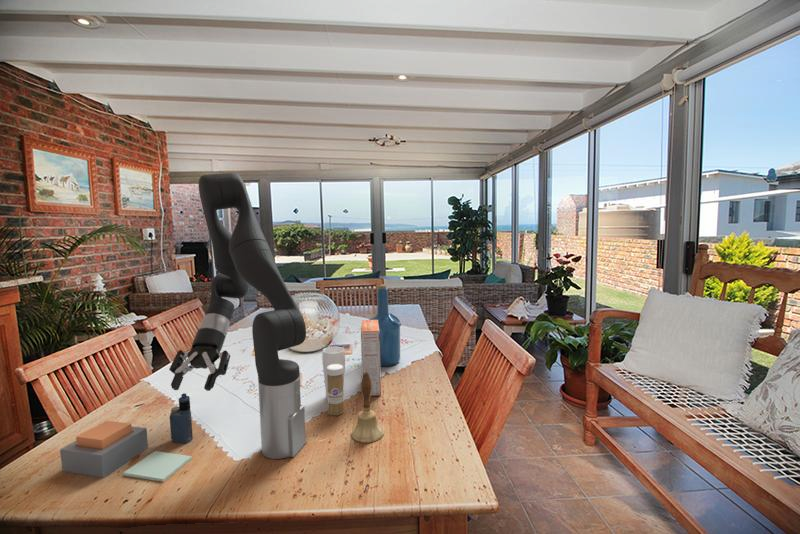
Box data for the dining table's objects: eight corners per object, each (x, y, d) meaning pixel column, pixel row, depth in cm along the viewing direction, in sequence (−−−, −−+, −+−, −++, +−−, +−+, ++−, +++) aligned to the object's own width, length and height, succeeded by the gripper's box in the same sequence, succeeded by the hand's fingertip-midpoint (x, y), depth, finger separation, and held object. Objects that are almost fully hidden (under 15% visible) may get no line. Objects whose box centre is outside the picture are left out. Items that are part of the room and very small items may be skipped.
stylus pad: (192, 458, 87) (192, 456, 86) (163, 481, 79) (163, 479, 79) (155, 453, 89) (155, 451, 89) (123, 475, 81) (123, 472, 81)
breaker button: (132, 435, 89) (131, 423, 89) (103, 453, 82) (101, 440, 82) (107, 432, 90) (106, 420, 90) (77, 449, 84) (76, 436, 83)
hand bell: (344, 434, 96) (342, 373, 94) (368, 422, 102) (367, 364, 100) (366, 447, 91) (365, 382, 89) (390, 433, 97) (389, 372, 95)
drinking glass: (335, 404, 113) (334, 354, 111) (318, 398, 116) (317, 351, 115) (350, 395, 118) (349, 348, 117) (333, 390, 122) (332, 345, 120)
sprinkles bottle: (329, 417, 105) (328, 370, 103) (326, 410, 109) (325, 364, 107) (346, 414, 106) (345, 367, 105) (342, 407, 111) (340, 362, 109)
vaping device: (187, 444, 92) (184, 397, 91) (169, 442, 93) (165, 395, 92) (195, 438, 95) (192, 392, 93) (177, 436, 96) (173, 390, 95)
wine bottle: (362, 366, 142) (360, 287, 139) (370, 354, 155) (369, 282, 152) (398, 368, 140) (397, 288, 137) (404, 356, 153) (403, 282, 150)
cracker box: (362, 379, 131) (361, 319, 129) (379, 378, 131) (378, 319, 129) (361, 397, 117) (360, 330, 115) (381, 396, 117) (380, 330, 115)
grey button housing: (148, 448, 91) (146, 428, 90) (103, 477, 80) (101, 455, 80) (110, 442, 93) (108, 423, 93) (62, 471, 82) (59, 449, 82)
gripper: (181, 326, 105) (156, 383, 95) (231, 326, 105) (211, 384, 94) (193, 339, 111) (171, 394, 101) (241, 339, 110) (223, 395, 100)
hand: (190, 389), depth 98 cm, fingers open, 8 cm apart
